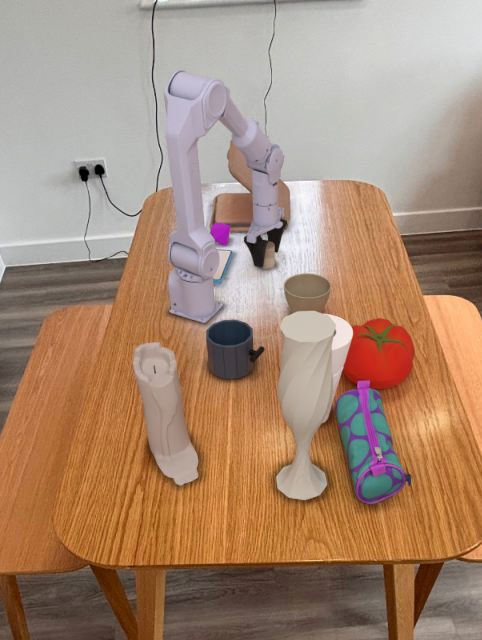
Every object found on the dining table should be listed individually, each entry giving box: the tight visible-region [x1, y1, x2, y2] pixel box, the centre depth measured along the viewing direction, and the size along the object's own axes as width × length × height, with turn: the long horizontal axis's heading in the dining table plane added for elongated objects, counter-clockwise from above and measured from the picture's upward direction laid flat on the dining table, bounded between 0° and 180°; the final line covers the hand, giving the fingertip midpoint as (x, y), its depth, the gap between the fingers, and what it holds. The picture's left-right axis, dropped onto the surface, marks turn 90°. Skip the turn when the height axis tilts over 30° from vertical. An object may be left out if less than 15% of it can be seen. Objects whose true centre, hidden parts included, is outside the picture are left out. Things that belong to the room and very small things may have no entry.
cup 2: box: [321, 313, 353, 424], centre depth 111 cm, size 11×11×18 cm
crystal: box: [209, 222, 231, 247], centre depth 160 cm, size 5×5×5 cm
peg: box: [259, 241, 276, 270], centre depth 152 cm, size 4×4×5 cm
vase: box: [275, 311, 336, 501], centre depth 96 cm, size 9×8×30 cm
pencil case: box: [334, 381, 412, 505], centre depth 106 cm, size 21×9×10 cm, turn 5°
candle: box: [132, 341, 200, 486], centre depth 104 cm, size 7×14×20 cm, turn 24°
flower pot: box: [283, 272, 332, 314], centre depth 137 cm, size 10×10×7 cm
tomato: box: [342, 317, 416, 390], centre depth 122 cm, size 14×16×10 cm
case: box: [209, 139, 291, 233], centre depth 165 cm, size 20×21×16 cm
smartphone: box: [213, 248, 234, 285], centre depth 153 cm, size 8×1×15 cm
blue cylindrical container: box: [205, 319, 265, 380], centre depth 125 cm, size 11×9×8 cm
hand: (266, 258), depth 153 cm, fingers open, 7 cm apart
